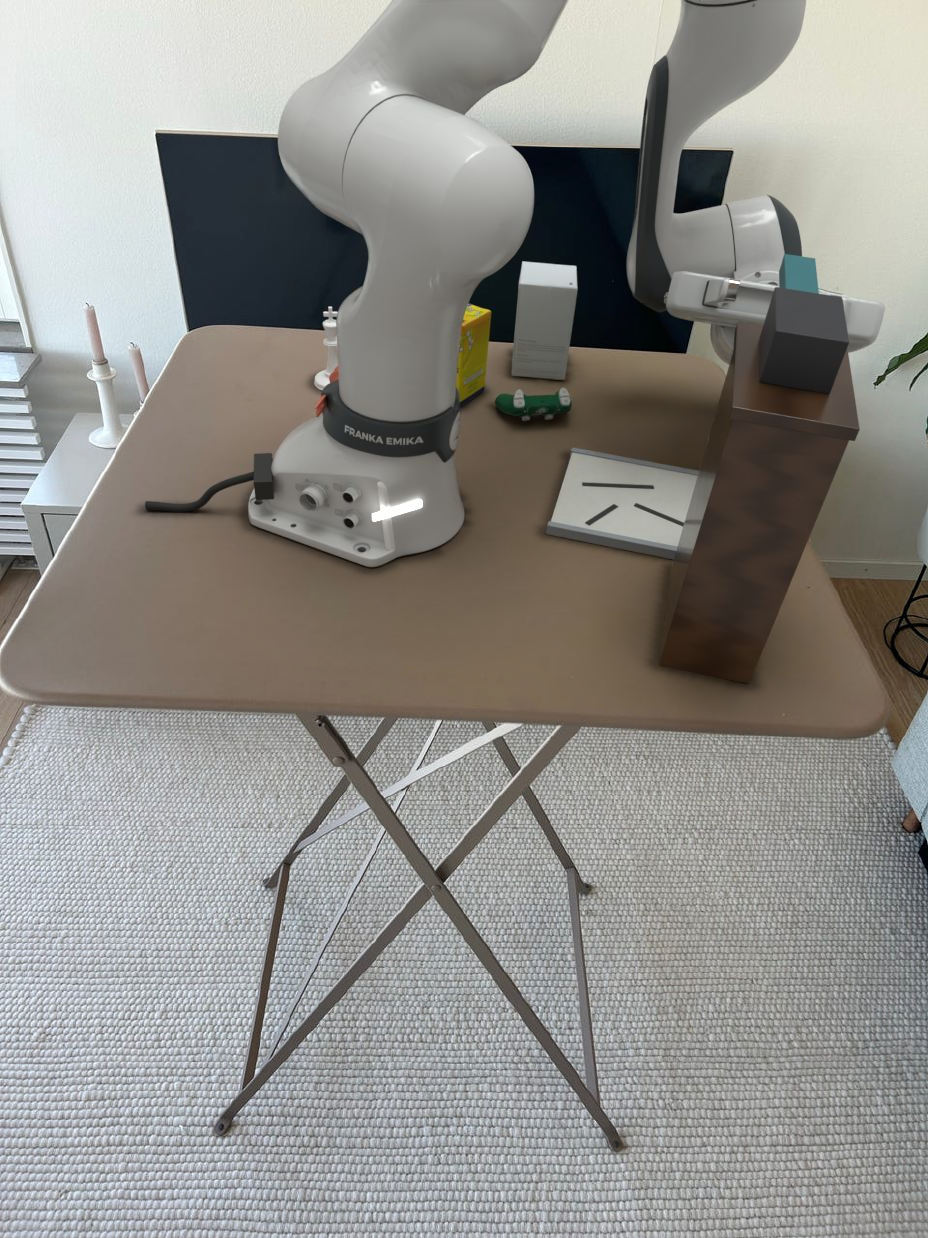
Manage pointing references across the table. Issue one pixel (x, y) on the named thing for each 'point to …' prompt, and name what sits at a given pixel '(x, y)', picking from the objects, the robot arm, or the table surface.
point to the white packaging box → (544, 320)
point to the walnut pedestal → (751, 512)
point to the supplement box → (473, 353)
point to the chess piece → (331, 342)
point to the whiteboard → (623, 503)
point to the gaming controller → (534, 404)
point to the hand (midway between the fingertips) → (783, 296)
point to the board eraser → (802, 331)
